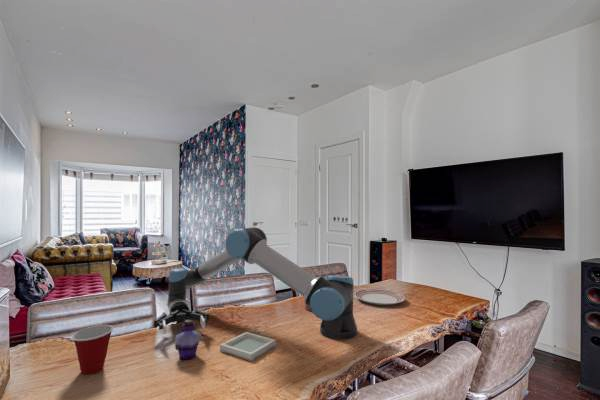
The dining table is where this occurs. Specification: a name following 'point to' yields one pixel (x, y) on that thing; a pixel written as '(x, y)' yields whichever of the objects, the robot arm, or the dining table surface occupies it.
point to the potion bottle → (187, 341)
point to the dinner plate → (379, 296)
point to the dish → (248, 346)
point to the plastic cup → (92, 347)
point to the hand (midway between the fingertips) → (184, 327)
